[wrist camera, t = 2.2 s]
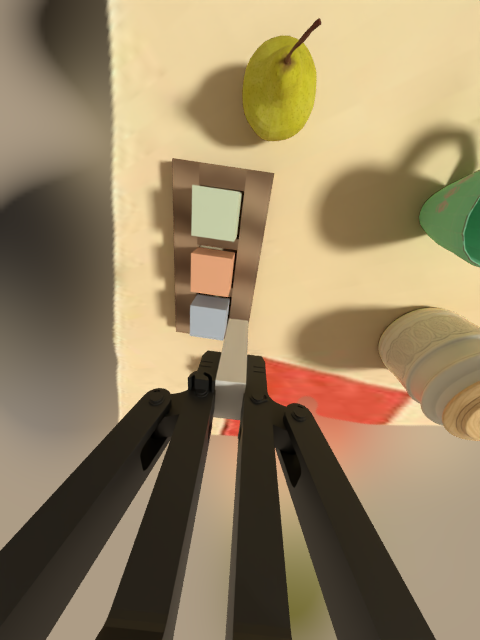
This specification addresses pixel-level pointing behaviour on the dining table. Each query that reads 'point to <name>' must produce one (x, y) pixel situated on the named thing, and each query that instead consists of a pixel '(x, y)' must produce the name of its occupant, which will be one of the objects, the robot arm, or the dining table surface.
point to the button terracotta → (211, 271)
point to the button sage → (215, 213)
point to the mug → (455, 218)
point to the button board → (246, 244)
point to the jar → (438, 366)
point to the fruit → (280, 87)
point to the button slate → (209, 317)
